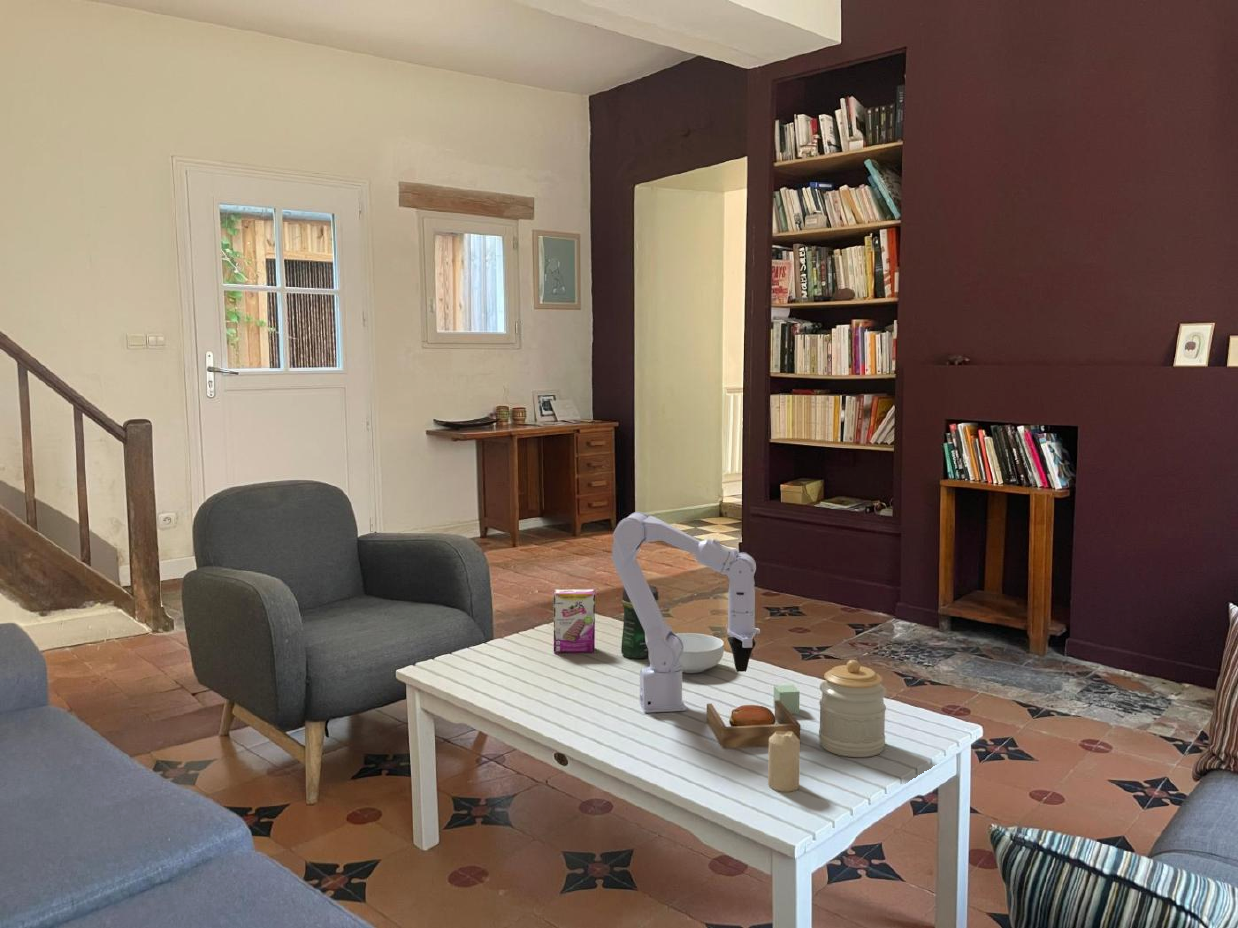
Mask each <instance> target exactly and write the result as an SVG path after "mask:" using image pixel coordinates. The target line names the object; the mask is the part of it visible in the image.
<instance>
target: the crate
mask: <svg viewBox="0 0 1238 928" xmlns="http://www.w3.org/2000/svg"><path fill="white" fill-rule="evenodd" d="M774 716H775V720H776V721H775V722H777V723H778V724H776V723H775V724H773V725H753V726H734V727H731V726H727V725H726V724H725V722H724V721H723V719H722V717H721V716H720V714H719V713H718V711H717V709H716V708H715V707H714V705H713V704H712V703H706V723H707V725H708V726H709V728H710V730H711V731H712V733H713V735H714V737H715V738H716V740H717V742H718V744H719V746H720V747H721V749H735V748H736V749H737V748H752V747H753V748H756V747H769V738H770V737H771V736H772V735H773V734H774V733H775V732H776V731H777V732H778V731H782V732H788V731H791V732H793V733H794V734H795V736H796V737H797V738H798V739H799V740H800V741H801V727H802V726H801V724H800V723H799V721H797V719H796V717H794V715H793V714H791V713H790V712H789V711H788V710H787V709H786V707H785V706H784V705H783V704H782V703H781V702H780V700H775V708H774Z"/></svg>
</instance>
